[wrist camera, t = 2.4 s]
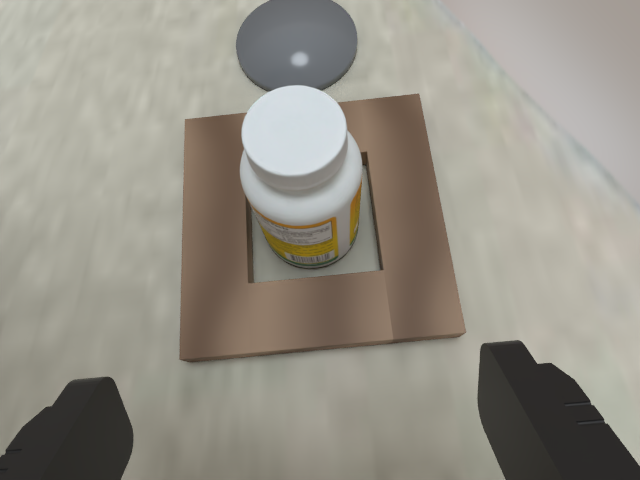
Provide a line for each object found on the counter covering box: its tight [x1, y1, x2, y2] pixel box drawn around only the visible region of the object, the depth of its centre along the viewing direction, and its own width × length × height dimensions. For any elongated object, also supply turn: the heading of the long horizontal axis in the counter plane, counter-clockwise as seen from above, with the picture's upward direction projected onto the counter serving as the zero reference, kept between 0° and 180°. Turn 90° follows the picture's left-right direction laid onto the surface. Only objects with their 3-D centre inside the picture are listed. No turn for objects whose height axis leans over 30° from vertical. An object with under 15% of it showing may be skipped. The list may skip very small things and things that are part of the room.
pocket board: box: [180, 94, 466, 362], centre depth 25 cm, size 14×14×2 cm
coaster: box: [236, 0, 357, 92], centre depth 30 cm, size 8×8×1 cm
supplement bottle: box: [240, 85, 362, 268], centre depth 21 cm, size 5×5×10 cm
